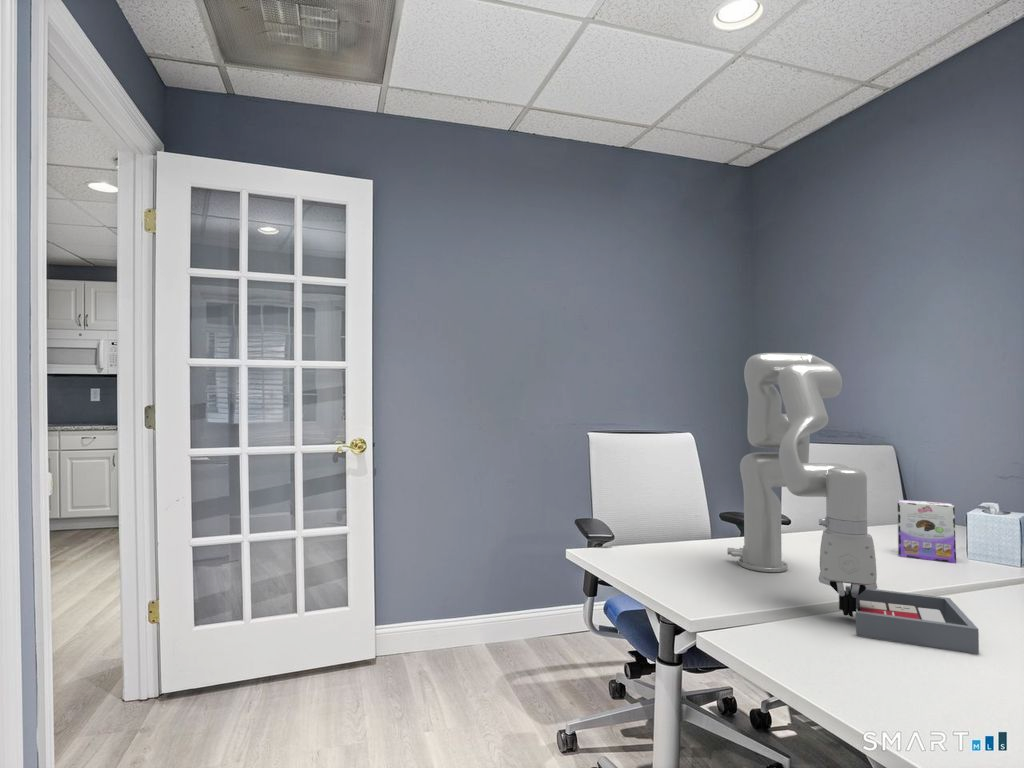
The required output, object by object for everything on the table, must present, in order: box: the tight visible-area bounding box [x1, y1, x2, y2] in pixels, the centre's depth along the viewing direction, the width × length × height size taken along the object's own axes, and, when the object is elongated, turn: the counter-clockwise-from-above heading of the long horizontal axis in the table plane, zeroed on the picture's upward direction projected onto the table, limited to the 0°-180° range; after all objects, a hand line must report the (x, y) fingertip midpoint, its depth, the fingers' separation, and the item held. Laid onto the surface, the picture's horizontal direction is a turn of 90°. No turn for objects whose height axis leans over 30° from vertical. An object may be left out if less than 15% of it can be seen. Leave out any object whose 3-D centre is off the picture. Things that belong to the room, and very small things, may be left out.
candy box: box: [896, 499, 957, 564], centre depth 170 cm, size 14×6×16 cm, turn 58°
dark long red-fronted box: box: [856, 600, 947, 623], centre depth 116 cm, size 11×4×15 cm
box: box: [844, 585, 980, 655], centre depth 117 cm, size 19×18×4 cm
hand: (847, 613), depth 121 cm, fingers closed
